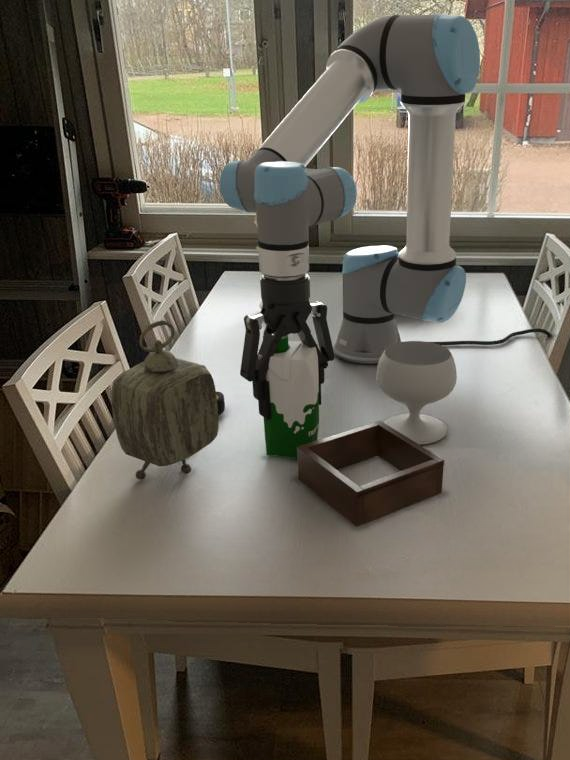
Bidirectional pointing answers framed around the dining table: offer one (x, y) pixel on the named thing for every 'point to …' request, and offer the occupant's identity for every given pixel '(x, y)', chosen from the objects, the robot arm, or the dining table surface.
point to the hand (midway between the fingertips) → (290, 408)
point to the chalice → (417, 385)
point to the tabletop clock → (164, 407)
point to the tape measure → (220, 402)
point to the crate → (376, 497)
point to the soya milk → (292, 398)
